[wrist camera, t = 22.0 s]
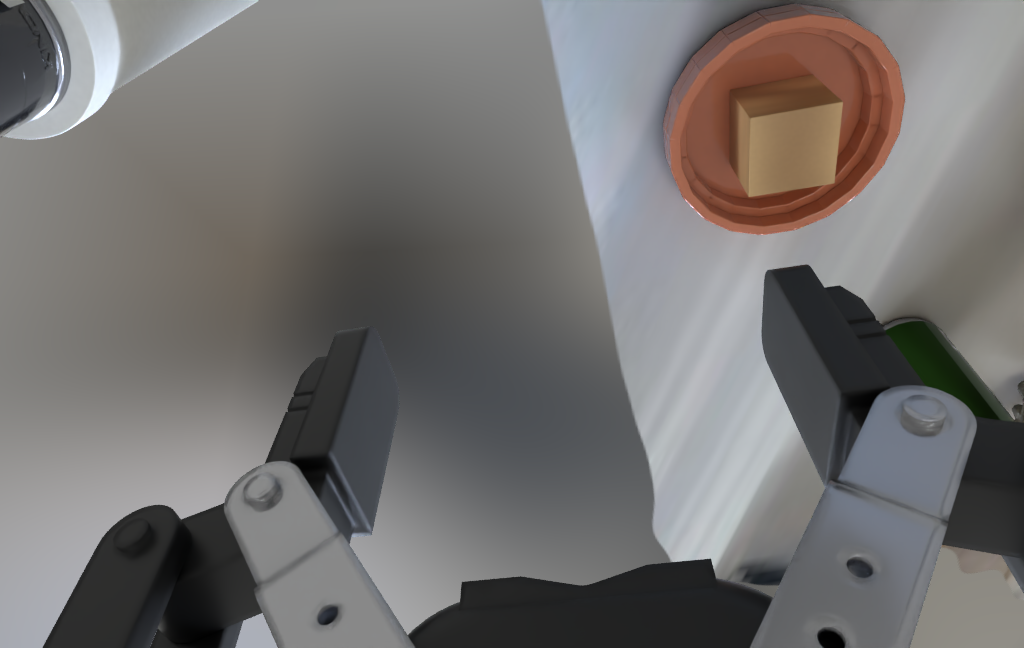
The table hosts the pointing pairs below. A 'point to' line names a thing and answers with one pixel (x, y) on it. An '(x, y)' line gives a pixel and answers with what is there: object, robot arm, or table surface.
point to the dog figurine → (1019, 406)
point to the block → (784, 135)
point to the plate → (768, 58)
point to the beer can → (944, 366)
